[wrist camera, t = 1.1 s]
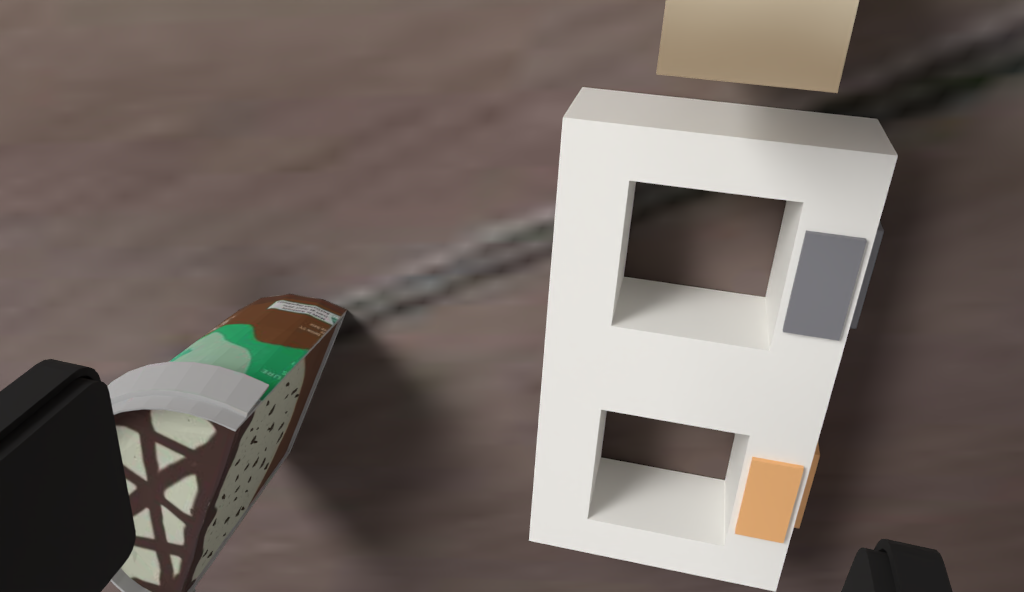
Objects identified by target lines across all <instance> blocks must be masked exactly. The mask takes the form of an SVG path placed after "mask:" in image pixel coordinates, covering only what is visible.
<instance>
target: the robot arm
mask: <svg viewBox="0 0 1024 592" xmlns="http://www.w3.org/2000/svg"><path fill="white" fill-rule="evenodd" d="M135 539H136V530H135V525H134V520H133V514H132V509H131V504H130V499H129V493H128V488H127V483H126V477H125V472H124V467H123V462H122V456H121V451H120V446H119V440H118V435H117V430H116V425H115V419H114V414H113V409H112V404H111V398H110V393H109V390H108V387H107V385H106V384H105V383H104V382H101V380H100V377H99V375H98V373H97V372H96V371H95V370H94V369H92V368H89V367H85V366H81V365H76V364H71V363H67V362H62V361H58V360H53V359H49V360H43V361H42V362H40V363H38V364H36V365H35V366H34V367H32V368H31V369H30V370H28V371H27V372H26V373H24V374H23V375H22V376H20V377H19V378H18V379H16V380H15V381H14V382H12V383H11V384H10V385H8V386H7V387H6V388H4V389H3V390H2V391H0V592H101V591H102V590H103V588H104V587H105V586H106V585H107V584H108V583H109V581H110V580H111V579H112V578H113V577H114V575H115V574H116V573H117V572H118V571H119V569H120V568H121V567H122V566H123V565H124V563H125V562H126V561H127V559H128V558H129V556H130V554H131V552H132V550H133V547H134V544H135ZM841 592H952V588H951V585H950V582H949V578H948V575H947V572H946V568H945V565H944V562H943V559H942V557H941V555H940V553H939V552H938V551H937V550H934V549H929V548H925V547H920V546H915V545H911V544H906V543H902V542H897V541H892V540H888V539H881V540H880V541H879V542H878V543H877V545H876V547H875V549H874V550H871V549H867V548H860V549H859V550H858V552H857V554H856V556H855V559H854V561H853V564H852V566H851V569H850V571H849V574H848V576H847V579H846V581H845V584H844V586H843V589H842V591H841Z"/></svg>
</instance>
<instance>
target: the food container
mask: <svg viewBox="0 0 1024 592" xmlns="http://www.w3.org/2000/svg"><path fill="white" fill-rule="evenodd" d="M346 312H347V309H344V308H342V307H340V306H337V305H335V304H333V303H330V302H328V301H326V300H323V299H318V298H312V297H306V296H300V295H294V294H286V295H278V296H271V297H264V298H260V299H258V300H256V301H255V302H253V303H251V304H249V305H247V306H246V307H244V308H242V309H240V310H238V311H237V312H236V313H234V314H233V315H232V316H230V317H229V318H228V319H226V320H225V321H224V322H222V323H221V324H219V325H218V326H217V327H215V328H214V329H213V330H211V331H210V332H209V333H207V334H206V335H205V336H203V337H202V338H200V339H199V340H198V341H196V342H195V343H194V344H192V345H191V346H190V347H188V348H187V349H186V350H184V351H183V352H181V353H180V354H179V355H177V356H176V357H175V358H173V359H172V360H171V361H169V362H165V363H158V364H151V365H147V366H144V367H141V368H138V369H135V370H132V371H129V372H127V373H126V374H124V375H122V376H121V377H119V378H117V379H116V380H114V381H112V382H111V383H110V384H109V385H108V386H107V387H108V390H109V393H110V398H111V404H112V409H113V414H114V419H115V425H116V430H117V435H118V440H119V446H120V451H121V456H122V462H123V467H124V472H125V477H126V483H127V488H128V493H129V499H130V504H131V509H132V514H133V520H134V525H135V530H136V539H135V544H134V547H133V550H132V552H131V554H130V556H129V558H128V559H127V561H126V562H125V563H124V565H123V566H122V567H121V568H120V569H119V571H118V572H117V573H116V574H115V575H114V577H113V578H112V579H111V580H110V581H111V582H112V583H113V584H114V585H115V586H116V587H117V588H118V589H120V590H121V591H122V592H195V591H196V590H195V589H194V588H195V587H196V585H197V584H198V583H199V581H200V580H201V578H202V577H203V575H204V574H205V573H206V571H207V570H208V568H209V567H210V566H211V564H212V563H213V561H214V560H215V558H216V557H217V556H218V554H219V553H220V551H221V550H222V549H223V547H224V546H225V544H226V543H227V541H228V540H229V539H230V537H231V536H232V534H233V533H234V531H235V530H236V529H237V527H238V526H239V524H240V523H241V522H242V520H243V519H244V517H245V516H246V514H247V513H248V512H249V510H250V509H251V507H252V506H253V505H254V503H255V502H256V500H257V499H258V497H259V496H260V495H261V493H262V492H263V490H264V489H265V487H266V486H267V485H268V483H269V482H270V480H271V479H272V478H273V476H274V475H275V473H276V472H277V470H278V469H279V468H280V466H281V465H282V463H283V462H284V460H285V459H286V458H287V456H288V455H289V453H290V452H291V449H292V447H293V444H294V442H295V439H296V437H297V434H298V432H299V429H300V427H301V424H302V422H303V419H304V417H305V414H306V412H307V409H308V407H309V404H310V402H311V399H312V397H313V394H314V392H315V389H316V387H317V384H318V382H319V379H320V377H321V374H322V372H323V369H324V367H325V364H326V362H327V359H328V357H329V354H330V352H331V349H332V347H333V344H334V342H335V339H336V337H337V334H338V332H339V329H340V327H341V324H342V322H343V319H344V317H345V314H346Z"/></svg>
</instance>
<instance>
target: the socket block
mask: <svg viewBox="0 0 1024 592" xmlns="http://www.w3.org/2000/svg"><path fill="white" fill-rule="evenodd" d="M897 157H898V155H897V153H896V151H895V150H894V148H893V146H892V144H891V142H890V141H889V139H888V137H887V135H886V133H885V132H884V130H883V128H882V126H881V124H880V123H879V121H878V119H875V118H865V117H856V116H847V115H837V114H828V113H819V112H809V111H800V110H791V109H782V108H772V107H763V106H754V105H744V104H735V103H726V102H716V101H707V100H698V99H689V98H679V97H670V96H661V95H651V94H642V93H633V92H623V91H614V90H605V89H596V88H586V87H582V89H581V90H580V92H579V93H578V95H577V96H576V98H575V99H574V101H573V103H572V104H571V106H570V107H569V109H568V110H567V112H566V113H565V115H564V117H563V123H562V136H561V148H560V161H559V173H558V185H557V198H556V210H555V223H554V235H553V248H552V260H551V273H550V285H549V298H548V310H547V323H546V335H545V347H544V360H543V372H542V385H541V397H540V410H539V422H538V435H537V447H536V460H535V472H534V485H533V497H532V509H531V522H530V534H529V541H533V542H538V543H543V544H548V545H553V546H557V547H562V548H567V549H572V550H577V551H582V552H587V553H591V554H596V555H601V556H606V557H611V558H616V559H621V560H625V561H630V562H635V563H640V564H645V565H650V566H654V567H659V568H664V569H669V570H674V571H679V572H684V573H688V574H693V575H698V576H703V577H708V578H713V579H718V580H722V581H727V582H732V583H737V584H742V585H747V586H751V587H756V588H761V589H766V590H771V591H776V589H777V585H778V582H779V578H780V575H781V571H782V567H783V564H784V560H785V557H786V553H787V550H788V546H789V542H790V539H791V535H792V532H793V528H800V524H801V521H802V517H803V514H804V510H805V507H806V503H807V500H808V496H809V493H810V489H811V486H812V482H813V479H814V475H815V472H816V468H817V465H818V461H819V458H820V451H819V445H818V439H819V435H820V432H821V428H822V425H823V421H824V418H825V414H826V411H827V407H828V403H829V400H830V396H831V393H832V389H833V386H834V382H835V378H836V375H837V371H838V368H839V364H840V361H841V357H842V353H843V350H844V346H845V343H846V339H847V336H848V332H849V328H852V329H856V328H857V324H858V321H859V317H860V314H861V310H862V307H863V303H864V300H865V296H866V293H867V289H868V286H869V282H870V279H871V275H872V272H873V268H874V265H875V261H876V258H877V254H878V251H879V247H880V243H881V240H882V236H883V233H884V230H883V228H882V225H881V223H880V218H881V214H882V211H883V207H884V204H885V200H886V197H887V193H888V189H889V186H890V182H891V179H892V175H893V172H894V168H895V164H896V161H897ZM636 182H644V183H652V184H660V185H668V186H676V187H684V188H692V189H700V190H708V191H716V192H724V193H732V194H740V195H747V196H755V197H763V198H771V199H779V200H787V201H786V206H785V210H784V215H783V219H782V224H781V228H780V233H779V237H778V242H777V247H776V251H775V256H774V260H773V265H772V269H771V274H770V278H769V283H768V287H767V292H766V296H765V297H760V296H753V295H747V294H740V293H733V292H726V291H719V290H712V289H706V288H699V287H692V286H685V285H678V284H671V283H665V282H658V281H651V280H644V279H637V278H630V277H624V272H625V264H626V256H627V248H628V241H629V233H630V225H631V217H632V209H633V201H634V193H635V186H636ZM607 411H612V412H618V413H623V414H629V415H635V416H641V417H646V418H652V419H658V420H663V421H669V422H675V423H681V424H686V425H692V426H698V427H703V428H709V429H715V430H720V431H726V432H732V433H735V437H734V442H733V446H732V451H731V455H730V460H729V464H728V469H727V473H726V478H725V480H721V479H715V478H710V477H704V476H699V475H694V474H688V473H683V472H677V471H672V470H667V469H661V468H656V467H650V466H645V465H640V464H634V463H629V462H623V461H618V460H613V459H607V458H602V457H601V453H602V445H603V437H604V429H605V421H606V413H607Z"/></svg>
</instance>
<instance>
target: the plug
mask: <svg viewBox="0 0 1024 592" xmlns="http://www.w3.org/2000/svg"><path fill="white" fill-rule="evenodd" d="M858 4H859V0H666V4H665V12H664V19H663V27H662V34H661V42H660V50H659V57H658V65H657V73H656V74H658V75H668V76H678V77H687V78H697V79H707V80H716V81H726V82H736V83H745V84H755V85H765V86H774V87H784V88H794V89H803V90H813V91H823V92H832V93H838V89H839V84H840V80H841V76H842V72H843V67H844V63H845V59H846V55H847V50H848V46H849V42H850V38H851V33H852V29H853V25H854V21H855V16H856V12H857V8H858Z"/></svg>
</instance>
